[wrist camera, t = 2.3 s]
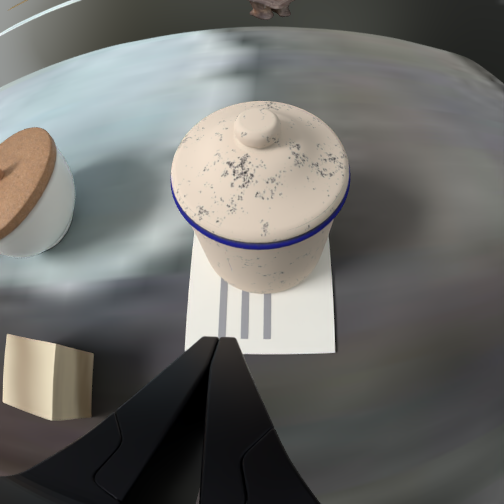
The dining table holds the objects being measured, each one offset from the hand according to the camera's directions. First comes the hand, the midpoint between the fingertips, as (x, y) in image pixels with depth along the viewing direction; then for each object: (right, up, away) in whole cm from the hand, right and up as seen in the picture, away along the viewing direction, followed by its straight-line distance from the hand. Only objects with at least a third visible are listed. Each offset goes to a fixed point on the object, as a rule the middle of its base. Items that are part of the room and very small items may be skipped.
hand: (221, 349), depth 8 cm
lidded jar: (-19, +5, +18) cm, 26 cm away
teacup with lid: (+1, +5, +16) cm, 17 cm away
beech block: (-14, -7, +12) cm, 20 cm away
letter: (+1, +1, +15) cm, 15 cm away
